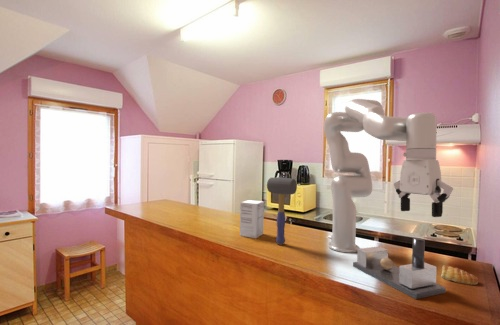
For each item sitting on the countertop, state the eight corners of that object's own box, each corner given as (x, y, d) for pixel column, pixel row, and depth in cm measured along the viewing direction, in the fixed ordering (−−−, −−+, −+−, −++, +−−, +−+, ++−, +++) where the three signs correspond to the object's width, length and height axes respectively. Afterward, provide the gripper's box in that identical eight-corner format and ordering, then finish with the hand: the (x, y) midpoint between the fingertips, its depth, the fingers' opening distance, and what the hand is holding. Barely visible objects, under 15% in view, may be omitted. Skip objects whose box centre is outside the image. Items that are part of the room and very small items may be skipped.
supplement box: (247, 231, 140) (248, 199, 140) (263, 233, 136) (264, 201, 136) (239, 235, 131) (239, 201, 131) (256, 238, 127) (256, 203, 127)
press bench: (352, 266, 95) (353, 248, 95) (378, 262, 99) (378, 245, 99) (415, 299, 72) (416, 275, 72) (445, 292, 77) (445, 270, 77)
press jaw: (399, 282, 78) (400, 238, 78) (423, 278, 82) (424, 236, 82) (411, 288, 75) (412, 242, 75) (436, 283, 78) (437, 239, 78)
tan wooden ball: (377, 268, 90) (377, 256, 90) (386, 267, 91) (386, 255, 91) (387, 273, 86) (387, 260, 86) (396, 271, 87) (396, 259, 87)
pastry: (476, 281, 86) (477, 269, 86) (478, 288, 80) (479, 276, 80) (441, 273, 91) (441, 262, 91) (440, 280, 86) (440, 268, 86)
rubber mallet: (264, 243, 120) (265, 177, 120) (272, 239, 126) (273, 176, 126) (289, 249, 113) (291, 178, 113) (296, 244, 119) (298, 177, 119)
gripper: (386, 156, 85) (386, 209, 85) (442, 154, 69) (441, 220, 69) (403, 156, 88) (403, 208, 87) (461, 155, 72) (460, 218, 71)
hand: (420, 213), depth 78 cm, fingers open, 9 cm apart
